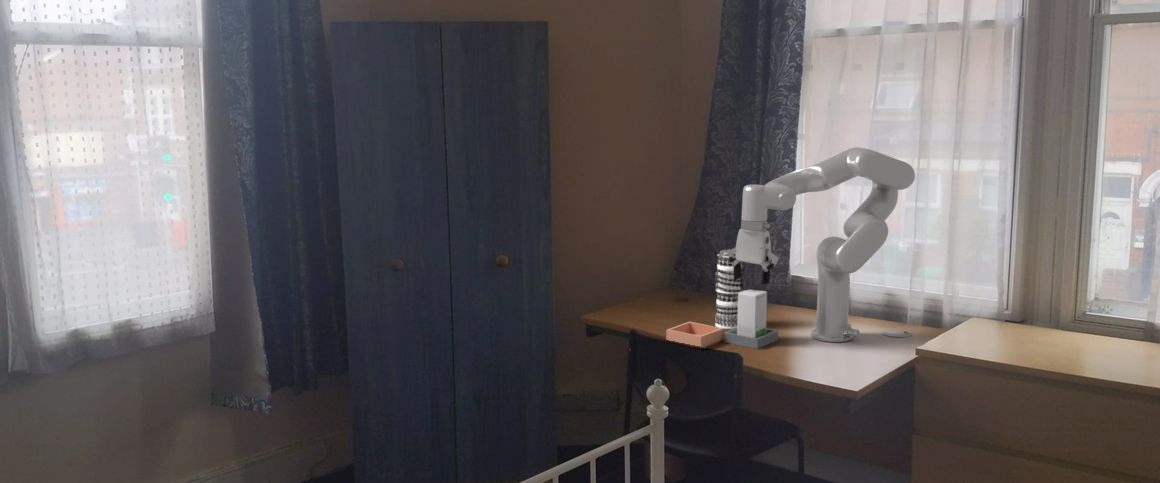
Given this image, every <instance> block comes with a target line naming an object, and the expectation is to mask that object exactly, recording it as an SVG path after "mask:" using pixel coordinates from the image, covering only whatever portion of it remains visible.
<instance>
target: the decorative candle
mask: <svg viewBox="0 0 1160 483" xmlns="http://www.w3.org/2000/svg"><path fill="white" fill-rule="evenodd" d="M728 250H729V249H723V250H720V252H719V253H718V254H717V255H716V256H717V265H716V267H715V269H714V270H715V271H716V272H715V273H714V274H715V278H714V279H715V282H716V283H715V284H714V285H715V291H716V292H717V295H716V297H717V298H716V303H715V312H716V313H715V314H714V317H715V319H714V321H715V323H714V326H715V327H720V328H724V330H732V329H735V328H737V319H738V293H740V292H742V291H743V288H741V287H743V286H744V284H743V283H742V282H743V281H744V279H742V277H743V276H744V275H745V274H744V273H743V271H745V269H744V268H743V264H742V263H741V264H740V265H741V278H740V279H736V280H735V279H734V275H733V272H734V266H732V263H731V261H730V260H729V257H728V254H727V251H728ZM733 255H734V257H735V252H734V253H733ZM735 258H736V257H735Z"/></svg>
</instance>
